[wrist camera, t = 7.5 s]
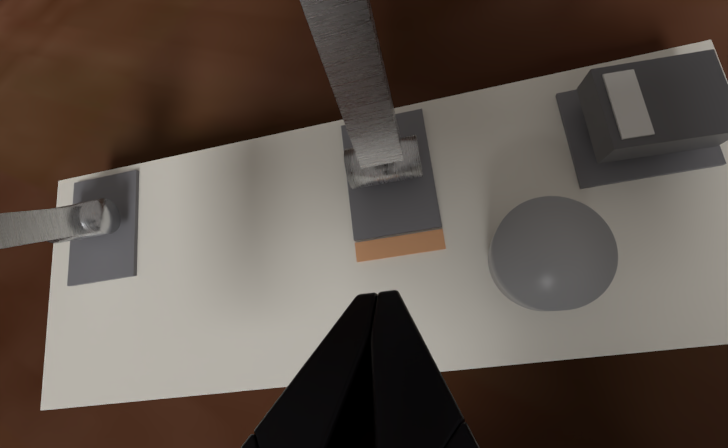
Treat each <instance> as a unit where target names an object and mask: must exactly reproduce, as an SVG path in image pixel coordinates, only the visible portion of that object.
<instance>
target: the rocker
mask: <svg viewBox="0 0 728 448" xmlns="http://www.w3.org/2000/svg"><path fill="white" fill-rule="evenodd" d="M577 93H578V96H579V100H580V103H581V107H582V110H583V114H584V118H585V121H586V125H587V128H588V132H589V135H590V139H591V142H592V146H593V150H594V153H595V157H596V160H597V164H599V163H606V162H613V161H620V160H626V159H633V158H640V157H647V156H654V155H661V154H668V153H675V152H682V151H688V150H695V149H702V148H709V147H716V146H719V145H720V144H722V143H724V142H726V141H728V84H727V81H726V78H725V76H724V73H723V71H722V68H721V66H720V63H719V61H718V58H717V55H716V53H715V50H714V49H711V50H705V51H699V52H693V53H687V54H681V55H674V56H668V57H662V58H656V59H650V60H644V61H638V62H631V63H625V64H619V65H613V66H607V67H601V68H595V69H590V71H589V72H588V74H587V75H586V76H585V78H584V79H583V80H582V82H581V83H580V85H579V86H578V87H577Z"/></svg>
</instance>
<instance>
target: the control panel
mask: <svg viewBox="0 0 728 448" xmlns="http://www.w3.org/2000/svg"><path fill="white" fill-rule="evenodd" d="M711 49H714V50H715V48H714V46H713V43H712V41H711V40H707V41H703V42H698V43H693V44H689V45H684V46H680V47H675V48H670V49H666V50H661V51H657V52H652V53H647V54H643V55H638V56H633V57H629V58H624V59H620V60H615V61H610V62H606V63H601V64H597V65H592V66H587V67H583V68H578V69H573V70H569V71H564V72H560V73H555V74H550V75H546V76H541V77H537V78H532V79H527V80H523V81H518V82H513V83H509V84H504V85H500V86H495V87H490V88H486V89H481V90H477V91H472V92H467V93H463V94H458V95H453V96H449V97H444V98H440V99H435V100H430V101H426V102H421V103H417V104H412V105H407V106H403V107H398V108H394V111H395V115H396V119H397V124H398V128H399V133H400V137H401V138H402V137H407V136H412V135H416V136H417V141H418V147H419V153H420V159H421V165H422V171H423V176H421V177H416V178H410V179H405V180H400V181H394V182H389V183H383V184H378V185H372V186H367V187H361V188H356V189H352V188H351V187H350V184H349V182H348V179H347V175H346V171H345V165H344V150H345V149H348V148H353V145H352V142H351V139H350V137H349V134H348V131H347V128H346V126H345V123H344V120H338V121H333V122H329V123H324V124H320V125H315V126H310V127H306V128H301V129H297V130H292V131H287V132H283V133H278V134H273V135H269V136H264V137H260V138H255V139H250V140H246V141H241V142H237V143H232V144H227V145H223V146H218V147H213V148H209V149H204V150H200V151H195V152H190V153H186V154H181V155H177V156H172V157H167V158H163V159H158V160H153V161H149V162H144V163H140V164H135V165H130V166H126V167H121V168H117V169H112V170H107V171H103V172H98V173H93V174H89V175H84V176H80V177H75V178H70V179H66V180H61V181H58V194H57V206H56V208H57V207H62V206H67V205H72V204H77V203H82V202H86V201H91V200H96V199H101V198H105V199H109V200H111V201H112V202H113V203H114V204H115V205H116V206H117V208H118V209H119V212H120V216H121V223H120V226H119V228H118V230H117V231H116V232H114V233H111V234H106V235H101V236H95V237H90V238H84V239H79V240H74V241H68V242H63V243H54V245H53V257H52V270H51V283H50V296H49V308H48V321H47V334H46V347H45V359H44V372H43V385H42V398H41V410H51V409H61V408H71V407H82V406H92V405H102V404H113V403H123V402H134V401H144V400H154V399H165V398H175V397H185V396H196V395H206V394H216V393H227V392H237V391H247V390H258V389H268V388H278V387H287V386H288V385H289V384H290V382H291V381H292V380H293V378H294V377H295V376H296V374H297V373H298V372H299V371H300V369H301V368H302V367H303V365H304V364H305V363H306V361H307V360H308V359H309V357H310V356H311V355H312V353H313V352H314V351H315V349H316V348H317V347H318V346H319V344H320V343H321V342H322V340H323V339H324V338H325V336H326V335H327V334H328V332H329V331H330V330H331V328H332V327H333V326H334V324H335V323H336V322H337V320H338V319H339V318H340V317H341V315H342V314H343V313H344V311H345V310H346V309H347V307H348V306H349V305H350V303H351V302H352V301H353V299H354V298H355V297H356V296H357V295H359V294H364V293H373V292H375V293H377V294H378V293H379V292H381V291H390V290H397V291H398V292H399V293H400V295H401V297H402V299H403V301H404V303H405V305H406V307H407V309H408V311H409V313H410V315H411V316H412V318H413V320H414V322H415V324H416V326H417V328H418V330H419V332H420V334H421V336H422V338H423V340H424V342H425V344H426V345H427V347H428V349H429V351H430V353H431V355H432V357H433V359H434V361H435V363H436V365H437V367H438V369H439V371H440V372H444V371H454V370H464V369H475V368H485V367H495V366H506V365H516V364H526V363H537V362H547V361H557V360H568V359H578V358H588V357H599V356H609V355H620V354H630V353H640V352H651V351H661V350H671V349H682V348H692V347H702V346H713V345H723V344H728V141H726V142H724V143H722V144H720V145H719V146H716V147H709V148H702V149H695V150H688V151H682V152H675V153H668V154H661V155H654V156H647V157H640V158H633V159H626V160H620V161H613V162H606V163H599V164H597V160H596V157H595V153H594V150H593V146H592V142H591V139H590V135H589V132H588V128H587V125H586V121H585V118H584V114H583V110H582V107H581V103H580V100H579V96H578V93H577V87H578V86H579V85H580V83H581V82H582V80H583V79H584V78H585V76H586V75H587V74H588V72H589V71H590V69H595V68H601V67H607V66H613V65H619V64H625V63H631V62H638V61H644V60H650V59H656V58H662V57H668V56H674V55H681V54H687V53H693V52H699V51H705V50H711ZM715 53H716V51H715ZM716 55H717V53H716ZM717 58H718V56H717ZM718 61H719V59H718ZM719 63H720V61H719ZM720 66H721V64H720ZM721 68H722V66H721ZM722 71H723V69H722ZM723 73H724V71H723ZM724 76H725V74H724ZM725 78H726V76H725ZM726 81H727V79H726ZM727 84H728V82H727ZM544 196H560V197H566V198H570V199H573V200H576V201H579V202H581V203H583V204H585V205H587V206H588V207H590V208H591V209H593V210H594V211H595V212H596V213H598V214H599V215H600V216H601V217H602V218H603V219H604V221H605V222H606V223H607V225H608V226H609V228H610V229H611V231H612V233H613V235H614V238H615V241H616V244H617V249H618V266H617V270H616V273H615V276H614V278H613V281H612V282H611V284H610V286H609V287H608V288H607V289H606V291H605V292H604V293H603V294H602V295H601V296H600V297H599V298H597V299H596V300H594V301H593V302H591V303H589V304H587V305H585V306H583V307H580V308H576V309H571V310H562V311H535V310H530V309H527V308H524V307H522V306H520V305H517V304H516V303H514V302H512V301H511V300H510V299H508V298H507V297H506V296H505V295H504V294H503V293H502V292H501V291H500V290H499V289H498V287H497V286H496V284H495V283H494V281H493V279H492V276H491V274H490V270H489V266H488V251H489V246H490V243H491V240H492V238H493V236H494V234H495V232H496V230H497V228H498V227H499V225H500V223H501V222H502V220H503V219H504V217H505V216H506V215H507V214H508V213H509V212H510V211H511V210H512V209H513V208H515V207H516V206H518V205H519V204H521V203H523V202H525V201H528V200H530V199H533V198H538V197H544Z"/></svg>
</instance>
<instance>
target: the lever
mask: <svg viewBox="0 0 728 448" xmlns="http://www.w3.org/2000/svg"><path fill="white" fill-rule="evenodd" d="M120 223H121V216H120V212H119V209H118V208H117V206H116V205H115V204H114V203H113V202H112V201H111V200H109V199H105V198H101V199H96V200H91V201H86V202H82V203H77V204H72V205H67V206H62V207H57V208H52V209H44V210H33V211H23V212H12V213H1V214H0V249H2V248H8V247H14V246H20V245H25V244H31V243H37V242H42V241H48V242H50V243H63V242H68V241H74V240H79V239H84V238H90V237H95V236H101V235H106V234H111V233H114V232H116V231H117V230H118V228H119V226H120Z"/></svg>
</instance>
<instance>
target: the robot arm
mask: <svg viewBox="0 0 728 448" xmlns="http://www.w3.org/2000/svg"><path fill="white" fill-rule="evenodd" d="M254 433H255V435H254V434H251V435H250V436H249V437H248V439H247V440H246V441H245V443H244V444H243V445H242V447H241V448H480V447H479V446H478V444H477V442H476V440H475V438H474V436H473V434H472V432H471V430H470V428H469V426H468V424H467V423H465V419H464V417H463V415H462V413H461V411H460V409H459V407H458V406H457V404H456V402H455V400H454V398H453V396H452V394H451V392H450V390H449V388H448V386H447V384H446V382H445V380H444V378H443V376H442V375H441V373H440V371H439V369H438V367H437V365H436V363H435V361H434V359H433V357H432V355H431V353H430V351H429V349H428V347H427V345H426V344H425V342H424V340H423V338H422V336H421V334H420V332H419V330H418V328H417V326H416V324H415V322H414V320H413V318H412V316H411V315H410V313H409V311H408V309H407V307H406V305H405V303H404V301H403V299H402V297H401V295H400V293H399V292H398V291H397V290H390V291H381V292H379V293H378V294H377V293H375V292H373V293H364V294H359V295H357V296H356V297H355V298H354V299H353V301H352V302H351V303H350V305H349V306H348V307H347V309H346V310H345V311H344V313H343V314H342V315H341V317H340V318H339V319H338V320H337V322H336V323H335V324H334V326H333V327H332V328H331V330H330V331H329V332H328V334H327V335H326V336H325V338H324V339H323V340H322V342H321V343H320V344H319V346H318V347H317V348H316V349H315V351H314V352H313V353H312V355H311V356H310V357H309V359H308V360H307V361H306V363H305V364H304V365H303V367H302V368H301V369H300V371H299V372H298V373H297V374H296V376H295V377H294V378H293V380H292V381H291V382H290V384H289V385H288V386H287V388H286V389H285V390H284V392H283V393H282V394H281V396H280V397H279V398H278V400H277V401H276V402H275V403H274V405H273V406H272V407H271V409H270V410H269V411H268V413H267V414H266V415H265V417H264V418H263V419H262V421H261V422H260V423H259V425H258V426H257V427H256V428H255V430H254Z"/></svg>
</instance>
